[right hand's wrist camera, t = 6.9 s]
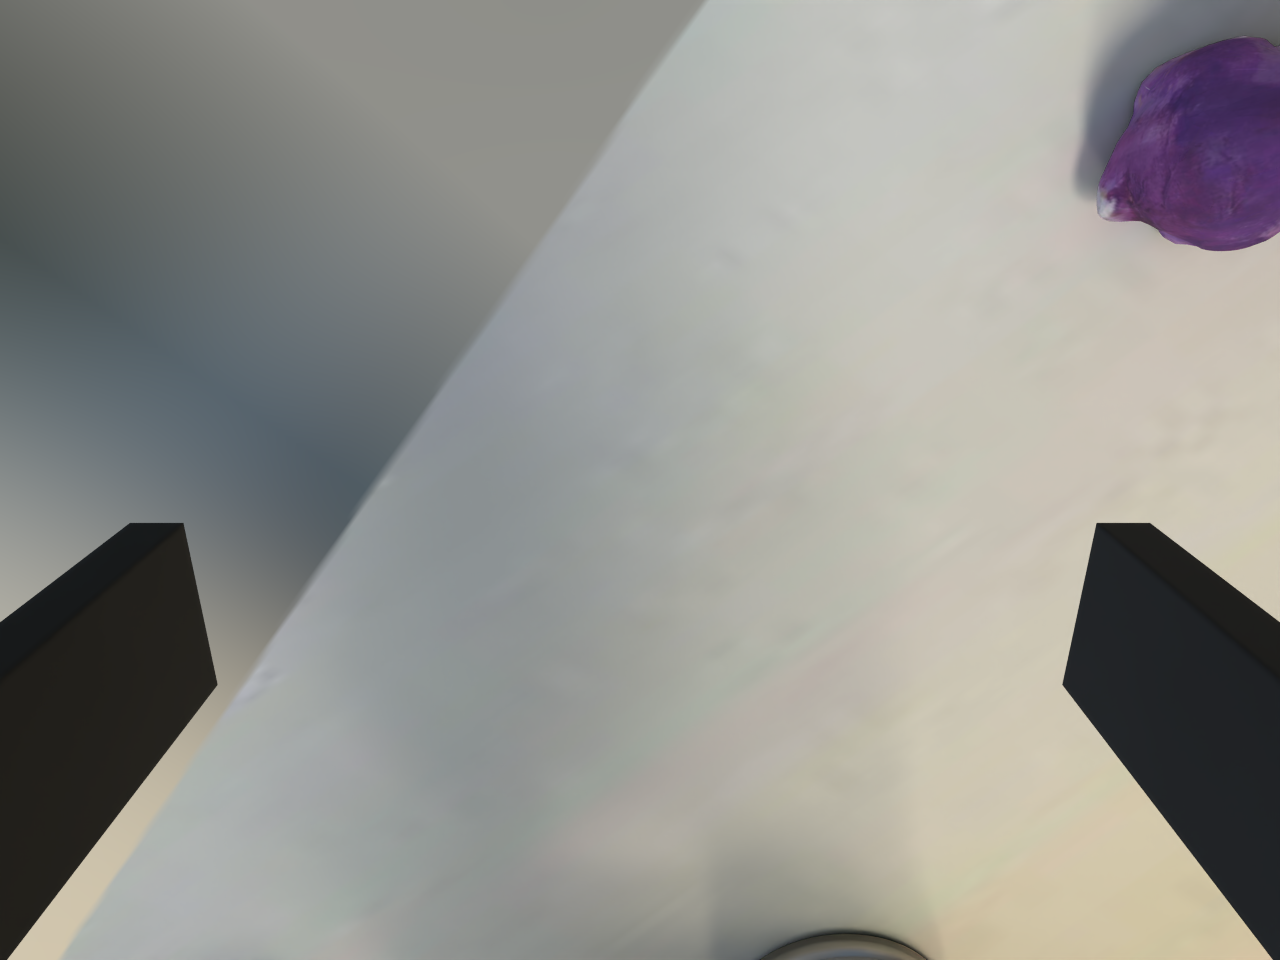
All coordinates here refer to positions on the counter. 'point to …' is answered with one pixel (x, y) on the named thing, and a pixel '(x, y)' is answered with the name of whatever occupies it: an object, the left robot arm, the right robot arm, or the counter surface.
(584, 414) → the counter surface
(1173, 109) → the figurine
